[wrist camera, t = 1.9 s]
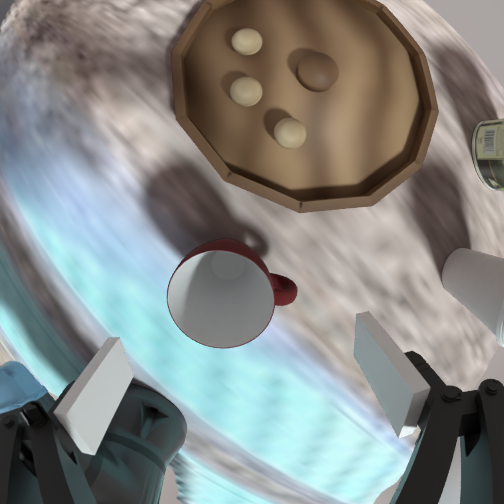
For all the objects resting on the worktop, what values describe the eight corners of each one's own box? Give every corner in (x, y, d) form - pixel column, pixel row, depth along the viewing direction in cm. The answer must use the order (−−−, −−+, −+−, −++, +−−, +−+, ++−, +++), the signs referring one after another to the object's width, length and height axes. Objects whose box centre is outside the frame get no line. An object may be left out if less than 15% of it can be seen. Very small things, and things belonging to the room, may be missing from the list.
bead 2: (232, 111, 25) (231, 103, 22) (229, 84, 24) (227, 74, 21) (263, 108, 25) (265, 100, 22) (259, 81, 24) (261, 70, 21)
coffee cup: (438, 235, 30) (526, 271, 15) (483, 236, 30) (560, 266, 15) (427, 306, 32) (496, 365, 18) (471, 299, 32) (537, 345, 18)
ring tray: (195, 222, 29) (189, 227, 26) (174, -2, 22) (168, -14, 19) (434, 198, 29) (448, 201, 26) (392, -1, 22) (401, -10, 19)
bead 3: (274, 152, 26) (277, 148, 23) (270, 122, 25) (273, 115, 22) (304, 149, 26) (311, 146, 23) (300, 120, 25) (307, 113, 22)
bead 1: (233, 61, 24) (232, 49, 21) (230, 38, 23) (229, 25, 20) (263, 58, 24) (265, 46, 21) (259, 35, 23) (261, 22, 20)
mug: (292, 228, 29) (315, 253, 20) (286, 300, 31) (301, 350, 22) (190, 224, 29) (163, 246, 19) (190, 296, 31) (169, 344, 21)
